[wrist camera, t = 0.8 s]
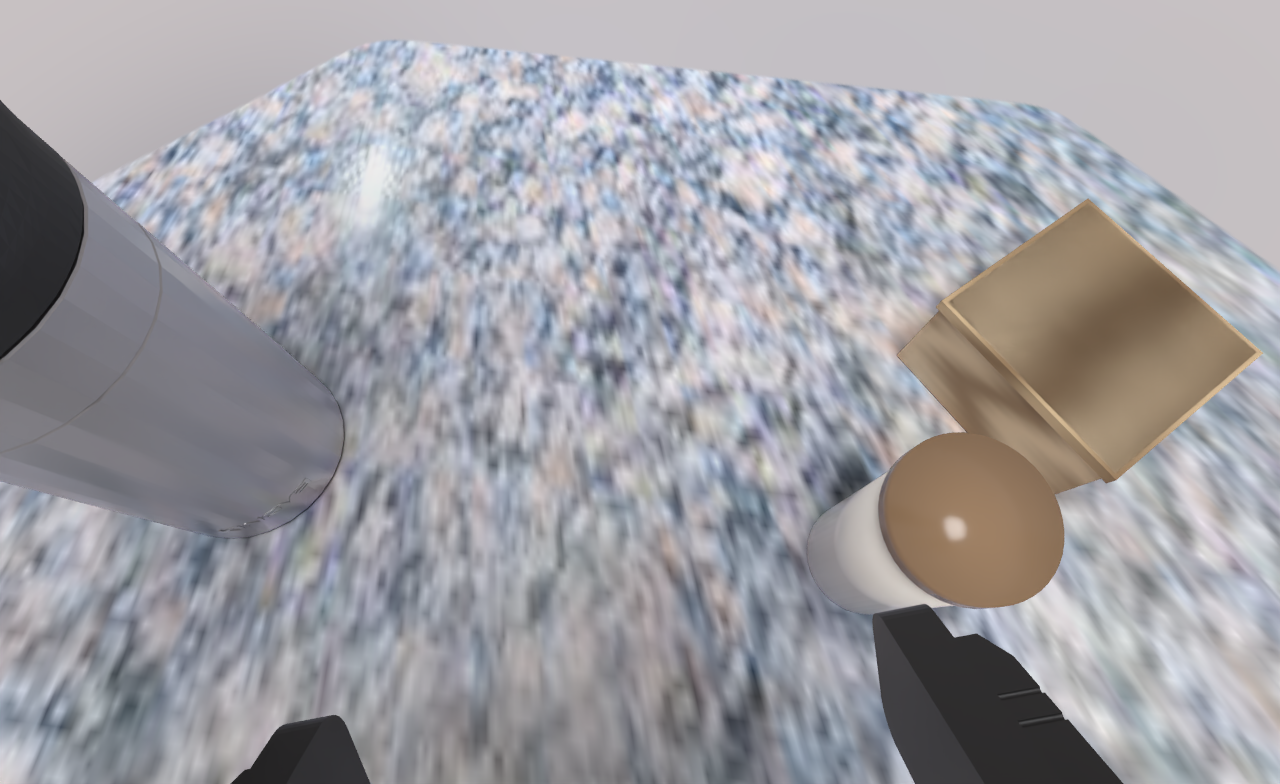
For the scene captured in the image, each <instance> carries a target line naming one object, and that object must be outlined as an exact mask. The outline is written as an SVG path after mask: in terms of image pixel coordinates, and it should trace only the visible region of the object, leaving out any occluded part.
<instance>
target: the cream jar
mask: <svg viewBox="0 0 1280 784" xmlns="http://www.w3.org/2000/svg"><path fill="white" fill-rule="evenodd" d="M1063 548H1064V525H1063V519H1062V515H1061V511H1060V507H1059V505H1058V502H1057V500H1056V497H1055V495H1054V493H1053V491H1052V490H1051V488H1050V486H1049V484H1048V483H1047V482H1046V480H1045V479H1044V477H1043V476H1042V475H1041V473H1040V472H1039V471H1038V470H1037V469H1036V467H1035V466H1034V465H1033V464H1031V463H1030V462H1029V461H1028V460H1027V459H1026V458H1025V457H1024V456H1022V455H1021V454H1020V453H1019V452H1017V451H1016V450H1014V449H1012V448H1011V447H1009V446H1008V445H1006V444H1004V443H1002V442H1000V441H998V440H995V439H992V438H989V437H987V436H983V435H979V434H973V433H964V432H961V433H947V434H942V435H938V436H935V437H932V438H930V439H928V440H925V441H923V442H922V443H920V444H919V445H917V446H916V447H914V448H913V449H911V450H910V451H908V452H907V453H905V454H904V455H903V456H902V457H900V458H899V459H898V460H897V461H896V462H895V463H894V465H893V466H892V467H891V468H890V470H889V471H888V472H886V473H885V474H883V475H882V476H880V477H879V478H877V479H876V480H874V481H872V482H871V483H869V484H868V485H866V486H865V487H863V488H862V489H860V490H858V491H857V492H855V493H854V494H852V495H851V496H849V497H848V498H846V499H844V500H843V501H841V502H840V503H838V504H837V505H835V506H834V507H832V508H830V509H829V510H827V511H826V512H825V513H824V514H822V515H821V516H820V517H819V519H818V520H817V521H816V523H815V524H814V526H813V528H812V530H811V532H810V535H809V538H808V544H807V558H808V564H809V568H810V571H811V574H812V576H813V578H814V580H815V582H816V584H817V585H818V587H819V588H820V590H821V591H822V592H823V593H824V594H825V595H826V596H827V597H828V598H829V599H830V600H831V601H832V602H834V603H835V604H837V605H838V606H840V607H842V608H843V609H846V610H848V611H851V612H854V613H858V614H865V615H871V614H875V613H879V612H884V611H889V610H894V609H900V608H905V607H910V606H915V605H920V604H927V605H928V606H930V607H931V608H936V607H944V606H953V605H955V606H959V607H963V608H972V609H983V608H995V607H1004V606H1010V605H1014V604H1017V603H1020V602H1023V601H1025V600H1027V599H1029V598H1031V597H1033V596H1034V595H1036V594H1037V593H1038V592H1040V591H1041V590H1042V589H1043V588H1044V587H1045V586H1046V585H1047V584H1048V583H1049V582H1050V580H1051V579H1052V577H1053V576H1054V574H1055V573H1056V570H1057V568H1058V566H1059V564H1060V561H1061V558H1062V554H1063Z"/></svg>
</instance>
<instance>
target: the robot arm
mask: <svg viewBox="0 0 1280 784" xmlns="http://www.w3.org/2000/svg"><path fill="white" fill-rule="evenodd" d="M343 441H344V430H343V419H342V416H341V412H340V409H339V405H338V404H337V402H336V400H335V398H334V397H333V395H332V393H331V392H330V390H329V389H328V388H327V387H326V386H325V385H324V384H323V383H322V382H321V381H320V380H319V379H317V378H316V377H315V376H314V375H313V374H312V373H310V372H309V371H308V370H307V369H306V368H305V367H304V366H302V365H301V364H300V363H299V362H298V361H297V360H296V359H294V358H293V357H292V356H291V355H290V354H289V353H288V352H287V351H286V350H284V349H283V348H282V347H281V346H280V345H279V344H278V343H276V342H275V341H274V340H273V339H272V338H271V337H270V336H268V335H267V334H266V333H265V332H264V331H263V330H261V329H260V328H259V327H258V326H257V325H256V324H255V323H253V322H252V321H251V320H250V319H249V318H248V317H246V316H245V315H244V314H243V313H242V312H241V311H239V310H238V309H237V308H236V307H235V306H234V305H233V304H231V303H230V302H229V301H228V300H227V299H226V298H224V297H223V296H222V295H221V294H220V293H219V292H218V291H216V290H215V289H214V288H213V287H212V286H211V285H209V284H208V283H207V282H206V281H205V280H204V279H203V278H201V277H200V276H199V275H198V274H197V273H196V272H194V271H193V270H192V269H191V268H190V267H189V266H188V265H186V264H185V263H184V262H183V261H182V260H181V259H179V258H178V257H177V256H176V255H175V254H174V253H173V252H171V251H170V250H169V249H168V248H167V247H166V246H164V245H163V244H162V243H161V242H160V241H159V240H158V239H156V238H155V237H154V236H153V235H152V234H151V233H149V232H148V231H147V230H146V229H145V228H144V227H143V226H141V225H140V224H139V223H138V222H136V221H135V220H134V219H133V218H131V217H130V216H129V215H128V214H127V213H126V212H124V211H123V210H122V209H121V208H120V207H119V206H118V205H116V204H115V203H114V202H113V201H112V200H111V199H110V198H108V197H107V196H106V195H105V194H104V193H103V192H101V191H100V190H99V189H98V188H97V187H96V186H95V185H93V184H92V183H91V182H90V181H89V180H88V179H86V178H85V177H84V176H83V175H82V174H81V173H79V172H78V171H77V170H76V169H75V168H74V167H73V166H71V165H70V164H69V163H68V162H67V161H65V160H64V159H63V158H62V157H61V156H60V155H59V154H58V153H57V152H56V151H54V149H52V148H51V147H50V146H49V145H48V144H46V142H44V141H43V140H42V139H41V138H40V137H39V136H37V135H36V134H35V133H34V132H33V131H32V130H31V129H30V128H29V127H27V126H26V125H25V124H24V123H23V122H22V121H21V120H19V119H18V118H17V117H16V116H15V115H14V114H13V113H12V112H11V111H10V110H9V109H8V108H7V107H6V106H5V105H4V104H3V103H2V102H1V100H0V481H1V482H5V483H9V484H13V485H16V486H20V487H24V488H28V489H32V490H35V491H39V492H43V493H47V494H51V495H54V496H58V497H62V498H66V499H70V500H74V501H77V502H81V503H85V504H89V505H93V506H96V507H100V508H104V509H108V510H112V511H115V512H119V513H123V514H127V515H131V516H135V517H138V518H142V519H146V520H150V521H153V522H157V523H161V524H164V525H168V526H172V527H176V528H180V529H184V530H188V531H191V532H195V533H199V534H203V535H207V536H213V537H220V538H228V539H230V538H242V537H251V536H254V535H258V534H261V533H265V532H268V531H271V530H273V529H275V528H277V527H279V526H281V525H283V524H285V523H287V522H289V521H291V520H292V519H293V518H295V517H296V516H297V515H299V514H300V513H301V512H303V511H304V510H305V509H307V508H308V507H309V506H310V505H311V504H312V503H313V502H314V500H315V499H316V498H317V497H318V496H319V495H320V494H321V493H322V492H323V490H324V489H325V487H326V486H327V484H328V483H329V481H330V479H331V478H332V476H333V474H334V472H335V470H336V467H337V465H338V462H339V460H340V457H341V452H342V446H343ZM873 633H874V641H875V649H876V657H877V665H878V674H879V682H880V690H881V698H882V703H883V708H884V712H885V716H886V719H887V723H888V726H889V729H890V732H891V734H892V737H893V739H894V742H895V744H896V746H897V748H898V750H899V752H900V754H901V756H902V758H903V760H904V762H905V764H906V766H907V768H908V770H909V772H910V774H911V776H912V778H913V780H914V782H915V784H1123V783H1122V782H1121V780H1120V779H1119V778H1118V777H1117V776H1116V775H1115V773H1114V772H1113V771H1112V770H1111V769H1110V768H1109V767H1108V765H1107V764H1106V763H1105V762H1104V761H1103V760H1102V758H1101V757H1100V756H1099V755H1098V754H1097V753H1096V751H1095V750H1094V749H1093V748H1092V747H1091V746H1090V744H1089V743H1088V742H1087V741H1086V740H1085V739H1084V737H1083V736H1082V735H1081V734H1080V733H1079V732H1078V731H1077V729H1076V728H1075V727H1074V726H1073V725H1072V724H1071V722H1070V721H1069V720H1065V719H1064V717H1063V715H1062V712H1061V711H1060V710H1059V708H1058V707H1057V706H1056V705H1055V704H1054V703H1053V702H1052V700H1051V699H1050V698H1049V697H1048V696H1047V695H1046V693H1042V692H1041V690H1040V686H1039V685H1038V684H1037V683H1036V682H1035V681H1034V679H1033V678H1032V677H1031V676H1030V675H1029V674H1028V672H1027V671H1026V670H1025V669H1024V668H1023V667H1022V666H1021V664H1020V663H1019V662H1018V661H1017V660H1016V659H1015V657H1014V656H1012V655H1011V654H1009V653H1008V652H1006V651H1004V650H1003V649H1001V648H999V647H998V646H996V645H994V644H993V643H991V642H990V641H988V640H986V639H985V638H983V637H981V636H980V635H978V634H972V635H967V636H961V637H956V638H954V637H953V636H952V634H951V633H950V632H949V630H948V629H947V628H946V627H945V625H944V624H943V623H942V621H941V620H940V619H939V617H938V616H937V615H936V613H935V612H934V611H933V610H932V608H931V607H930V606H928V605H927V604H920V605H915V606H910V607H905V608H900V609H894V610H889V611H884V612H879V613H875V614H874V615H873ZM231 784H370V782H369V779H368V777H367V774H366V772H365V770H364V767H363V765H362V762H361V760H360V758H359V755H358V753H357V750H356V748H355V746H354V743H353V741H352V738H351V736H350V734H349V731H348V729H347V726H346V724H345V722H344V721H343V720H342V719H341V718H340V717H339V716H336V715H331V716H326V717H320V718H315V719H310V720H305V721H299V722H294V723H289V724H285V725H283V726H281V727H279V728H278V729H277V730H276V731H275V733H274V734H273V735H272V737H271V738H270V740H269V741H268V743H267V744H266V746H265V747H264V749H263V750H262V752H261V753H260V755H259V756H258V758H257V759H256V761H255V763H254V764H253V766H252V767H251V769H247V770H244V771H243V772H242V773H241V774H240V775H239V776H238V777H237V778H236V779H235V780H234V781H233V782H232V783H231Z"/></svg>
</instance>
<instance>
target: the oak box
mask: <svg viewBox="0 0 1280 784" xmlns="http://www.w3.org/2000/svg"><path fill="white" fill-rule="evenodd" d="M936 308H937V309H938V310H939V312H938V313H937V314H936V315H935V316H934V317H933V318H932V319H931V320H930V321H929V322H928V323H927V324H926V325H925V326H924V327H923V328H922V329H921V330H920V331H919V332H918V334H917V335H916V336H915V337H914V338H913V339H912V340H911V341H910V342H909V343H908V344H907V345H906V346H905V347H904V348H903V349H902V350H901V351H900V352H899V353H898V355H897V356H898V357H899V358H900V359H901V360H902V361H903V363H904V364H905V365H906V366H907V367H908V368H909V369H910V370H911V371H912V372H913V373H914V375H915V376H916V377H917V378H918V379H919V380H920V381H921V382H922V383H923V384H924V385H925V387H926V388H927V389H928V390H929V391H930V392H931V393H932V394H933V395H934V396H935V397H936V399H937V400H938V401H939V402H940V403H941V404H942V405H943V406H944V407H945V408H946V409H947V411H948V412H949V413H950V414H951V415H952V416H953V417H954V418H955V419H956V420H957V421H958V423H959V424H960V425H961V426H962V427H963V428H964V429H965V430H966V431H967V432H968V433H973V434H979V435H983V436H987V437H989V438H992V439H995V440H998V441H1000V442H1002V443H1004V444H1006V445H1008V446H1009V447H1011V448H1012V449H1014V450H1016V451H1017V452H1019V453H1020V454H1021V455H1022V456H1024V457H1025V458H1026V459H1027V460H1028V461H1029V462H1030V463H1031V464H1033V465H1034V466H1035V467H1036V469H1037V470H1038V471H1039V472H1040V473H1041V475H1042V476H1043V477H1044V479H1045V480H1046V482H1047V483H1048V484H1049V486H1050V488H1051V490H1052V491H1053V493H1054V495H1055V494H1058V493H1060V492H1063V491H1066V490H1069V489H1072V488H1075V487H1078V486H1081V485H1084V484H1087V483H1090V482H1092V481H1095V480H1098V479H1101V478H1102V479H1103V480H1104V482H1105V483H1109V482H1112V481H1115V480H1117V479H1118V478H1119V477H1120V476H1121V475H1123V474H1124V473H1125V472H1126V471H1127V470H1128V469H1130V468H1131V467H1132V466H1133V465H1134V464H1135V463H1136V462H1138V461H1139V460H1140V459H1141V458H1142V457H1143V456H1145V455H1146V454H1147V453H1148V452H1149V451H1150V450H1152V449H1153V448H1154V447H1155V446H1156V445H1157V444H1158V443H1160V442H1161V441H1162V440H1163V439H1164V438H1165V437H1167V436H1168V435H1169V434H1170V433H1171V432H1172V431H1174V430H1175V429H1176V428H1177V427H1178V426H1179V425H1180V424H1182V423H1183V422H1184V421H1185V420H1186V419H1187V418H1189V417H1190V416H1191V415H1192V414H1193V413H1194V412H1196V411H1197V410H1198V409H1199V408H1200V407H1201V406H1202V405H1204V404H1205V403H1206V402H1207V401H1208V400H1209V399H1211V398H1212V397H1213V396H1214V395H1215V394H1216V393H1218V392H1219V391H1220V390H1221V389H1222V388H1223V387H1224V386H1226V385H1227V384H1228V383H1229V382H1230V381H1231V380H1233V379H1234V378H1235V377H1236V376H1237V375H1238V374H1239V373H1241V372H1242V371H1243V370H1244V369H1245V368H1246V367H1248V366H1249V365H1250V364H1251V363H1252V362H1253V361H1255V360H1256V359H1257V358H1258V357H1259V356H1260V355H1261V354H1263V353H1262V352H1261V351H1260V350H1259V349H1258V348H1257V347H1256V346H1254V345H1253V344H1252V343H1251V342H1250V341H1249V340H1248V339H1247V338H1245V337H1244V336H1243V335H1242V334H1241V333H1240V332H1239V331H1237V330H1236V329H1235V328H1234V327H1233V326H1232V325H1231V324H1230V323H1228V322H1227V321H1226V320H1225V319H1224V318H1223V317H1222V316H1220V315H1219V314H1218V313H1217V312H1216V311H1215V310H1214V309H1213V308H1211V307H1210V306H1209V305H1208V304H1207V303H1206V302H1205V301H1203V300H1202V299H1201V298H1200V297H1199V296H1198V295H1197V294H1196V293H1194V292H1193V291H1192V290H1191V289H1190V288H1189V287H1188V286H1186V285H1185V284H1184V283H1183V282H1182V281H1181V280H1180V279H1179V278H1177V277H1176V276H1175V275H1174V274H1173V273H1172V272H1171V271H1170V270H1168V269H1167V268H1166V267H1165V266H1164V265H1163V264H1162V263H1160V262H1159V261H1158V260H1157V259H1156V258H1155V257H1154V256H1153V255H1151V254H1150V253H1149V252H1148V251H1147V250H1146V249H1145V248H1143V247H1142V246H1141V245H1140V244H1139V243H1138V242H1137V241H1136V240H1134V239H1133V238H1132V237H1131V236H1130V235H1129V234H1128V233H1126V232H1125V231H1124V230H1123V229H1122V228H1121V227H1120V226H1119V225H1117V224H1116V223H1115V222H1114V221H1113V220H1112V219H1111V218H1109V217H1108V216H1107V215H1106V214H1105V213H1104V212H1103V211H1102V210H1100V209H1099V208H1098V207H1097V206H1096V205H1095V204H1094V203H1092V202H1091V201H1090V200H1089V199H1087V200H1085V201H1084V202H1082V203H1081V204H1080V205H1078V206H1077V207H1075V208H1074V209H1072V210H1071V211H1070V212H1068V213H1067V214H1065V215H1064V216H1062V217H1061V218H1060V219H1058V220H1057V221H1055V222H1054V223H1052V224H1051V225H1049V226H1048V227H1047V228H1045V229H1044V230H1042V231H1041V232H1039V233H1038V234H1037V235H1035V236H1034V237H1032V238H1031V239H1029V240H1028V241H1027V242H1025V243H1024V244H1022V245H1021V246H1019V247H1018V248H1017V249H1015V250H1014V251H1012V252H1011V253H1009V254H1008V255H1007V256H1005V257H1004V258H1002V259H1001V260H999V261H998V262H997V263H995V264H994V265H992V266H991V267H989V268H988V269H987V270H985V271H984V272H982V273H981V274H979V275H978V276H977V277H975V278H974V279H972V280H971V281H969V282H968V283H966V284H965V285H964V286H962V287H961V288H959V289H958V290H956V291H955V292H954V293H952V294H951V295H949V296H948V297H946V298H945V299H944V300H942V301H941V302H940V303H939V304H938V305H937V306H936Z"/></svg>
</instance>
